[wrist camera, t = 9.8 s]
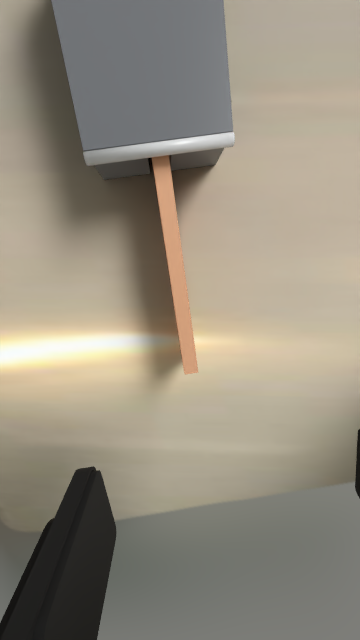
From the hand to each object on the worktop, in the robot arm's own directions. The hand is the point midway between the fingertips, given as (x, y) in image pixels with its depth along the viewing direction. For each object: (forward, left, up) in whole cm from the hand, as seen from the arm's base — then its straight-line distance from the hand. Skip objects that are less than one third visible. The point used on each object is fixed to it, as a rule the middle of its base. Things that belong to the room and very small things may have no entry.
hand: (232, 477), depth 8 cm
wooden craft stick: (0, -8, -16) cm, 18 cm away
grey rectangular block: (0, -23, -17) cm, 28 cm away
